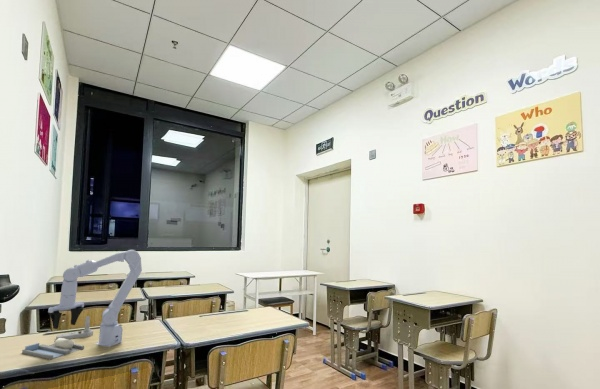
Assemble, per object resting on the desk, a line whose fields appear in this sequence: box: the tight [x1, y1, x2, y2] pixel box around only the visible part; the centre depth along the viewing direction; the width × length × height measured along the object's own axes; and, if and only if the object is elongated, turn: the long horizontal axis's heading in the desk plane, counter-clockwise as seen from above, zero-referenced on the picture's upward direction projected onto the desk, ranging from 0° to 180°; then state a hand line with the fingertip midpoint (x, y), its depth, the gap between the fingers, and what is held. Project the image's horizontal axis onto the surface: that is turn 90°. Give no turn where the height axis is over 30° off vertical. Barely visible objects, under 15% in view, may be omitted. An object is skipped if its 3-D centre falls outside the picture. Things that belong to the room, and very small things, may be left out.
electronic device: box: [55, 315, 94, 341], centre depth 162 cm, size 5×10×15 cm
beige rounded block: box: [53, 338, 75, 350], centre depth 145 cm, size 7×4×4 cm, turn 69°
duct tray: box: [21, 342, 85, 360], centre depth 142 cm, size 18×14×3 cm
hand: (64, 326), depth 146 cm, fingers open, 7 cm apart
